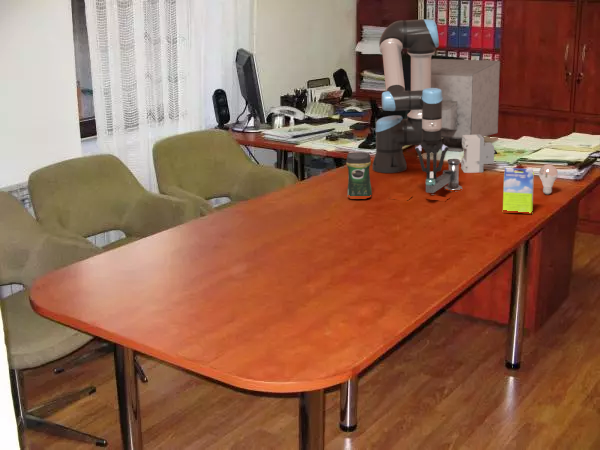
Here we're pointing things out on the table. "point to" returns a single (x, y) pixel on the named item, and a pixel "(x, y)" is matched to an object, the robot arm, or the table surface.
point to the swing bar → (440, 181)
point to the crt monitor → (466, 98)
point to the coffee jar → (359, 174)
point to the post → (455, 167)
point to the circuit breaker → (476, 153)
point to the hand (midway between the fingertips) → (431, 188)
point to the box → (518, 190)
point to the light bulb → (548, 177)
